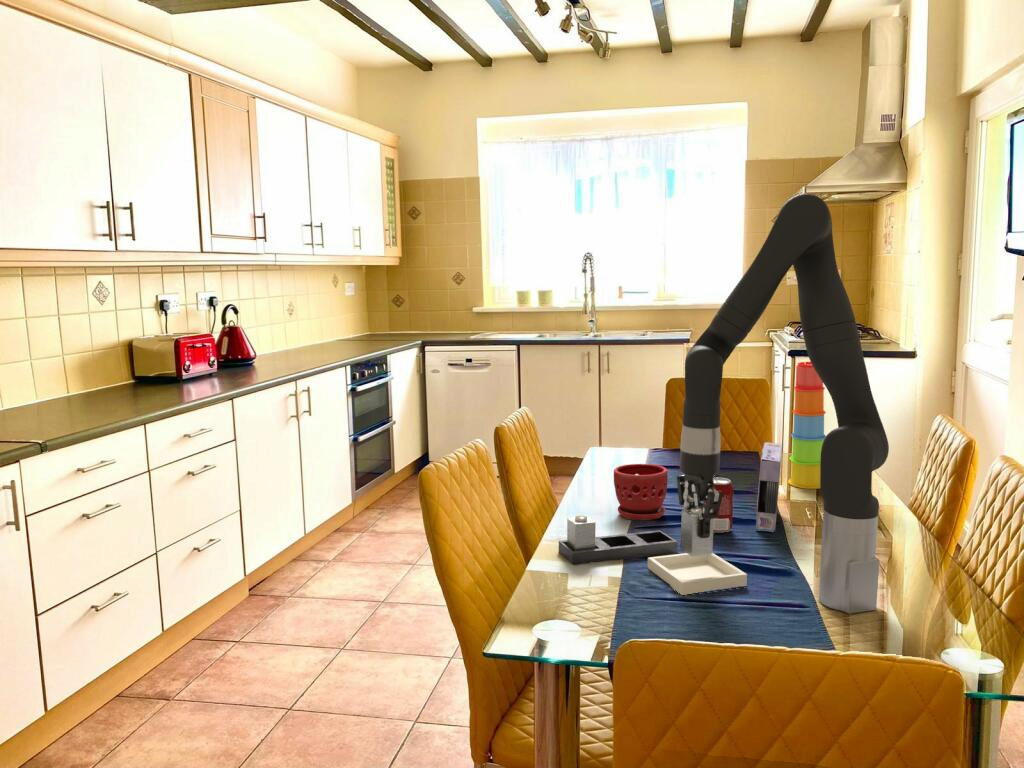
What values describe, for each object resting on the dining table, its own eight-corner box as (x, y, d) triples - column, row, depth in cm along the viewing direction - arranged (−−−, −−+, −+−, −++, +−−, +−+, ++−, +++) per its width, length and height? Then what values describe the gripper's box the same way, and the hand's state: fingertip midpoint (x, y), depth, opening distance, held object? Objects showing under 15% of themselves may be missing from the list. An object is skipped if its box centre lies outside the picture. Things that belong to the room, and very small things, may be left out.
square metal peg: (595, 559, 174) (595, 519, 173) (574, 561, 173) (575, 521, 172) (586, 552, 179) (587, 513, 177) (567, 554, 177) (567, 515, 176)
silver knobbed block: (712, 554, 163) (714, 511, 162) (691, 556, 162) (693, 513, 161) (700, 546, 168) (702, 505, 166) (680, 548, 166) (681, 507, 165)
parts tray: (746, 587, 161) (747, 574, 160) (681, 595, 157) (682, 582, 156) (708, 562, 174) (708, 550, 174) (647, 569, 170) (647, 557, 169)
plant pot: (660, 507, 213) (661, 461, 211) (671, 523, 200) (673, 474, 198) (609, 508, 213) (610, 462, 211) (617, 524, 200) (618, 475, 198)
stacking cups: (830, 490, 229) (837, 364, 224) (791, 488, 231) (797, 364, 226) (822, 480, 239) (829, 360, 234) (785, 479, 241) (791, 359, 236)
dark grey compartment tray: (677, 555, 178) (677, 541, 178) (572, 567, 171) (572, 553, 171) (659, 543, 186) (659, 530, 186) (558, 554, 179) (558, 541, 178)
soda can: (732, 536, 191) (734, 484, 189) (702, 534, 192) (704, 483, 190) (731, 526, 197) (733, 477, 196) (701, 525, 199) (703, 476, 197)
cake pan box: (777, 535, 191) (780, 460, 189) (754, 533, 193) (757, 458, 190) (779, 511, 209) (782, 442, 207) (758, 510, 211) (761, 441, 208)
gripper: (737, 455, 156) (733, 543, 159) (698, 439, 169) (695, 520, 172) (701, 458, 154) (698, 547, 156) (665, 441, 167) (662, 524, 170)
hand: (697, 532), depth 164 cm, fingers closed on silver knobbed block, 4 cm apart
